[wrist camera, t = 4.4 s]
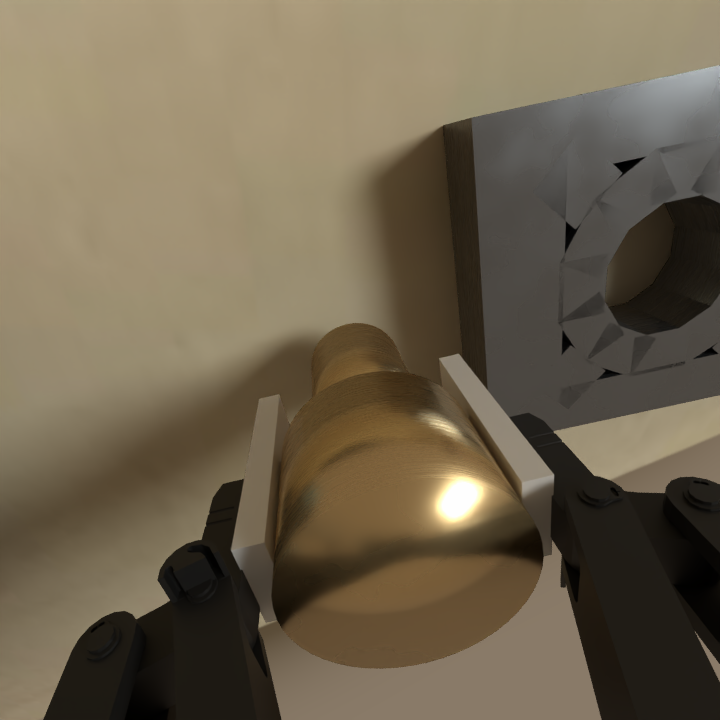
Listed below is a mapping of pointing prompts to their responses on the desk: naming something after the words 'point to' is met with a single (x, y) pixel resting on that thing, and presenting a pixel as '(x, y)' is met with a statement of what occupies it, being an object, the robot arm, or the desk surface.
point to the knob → (393, 516)
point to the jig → (589, 249)
